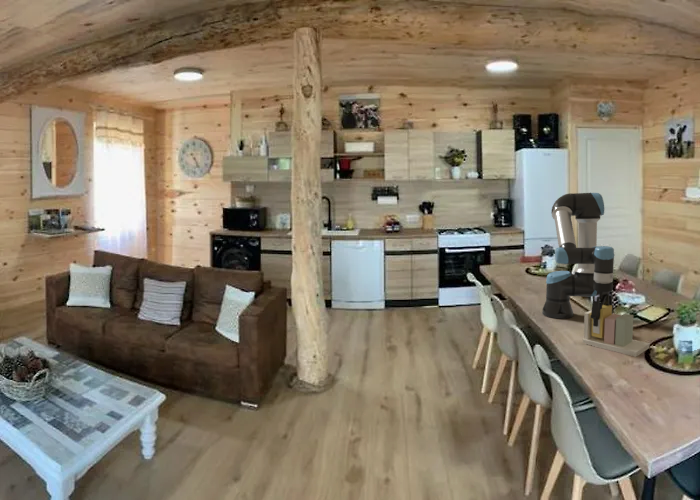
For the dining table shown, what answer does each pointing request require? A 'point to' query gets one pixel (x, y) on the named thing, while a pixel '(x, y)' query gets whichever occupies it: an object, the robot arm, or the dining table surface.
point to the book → (602, 320)
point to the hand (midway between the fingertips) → (601, 330)
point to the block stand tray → (615, 335)
